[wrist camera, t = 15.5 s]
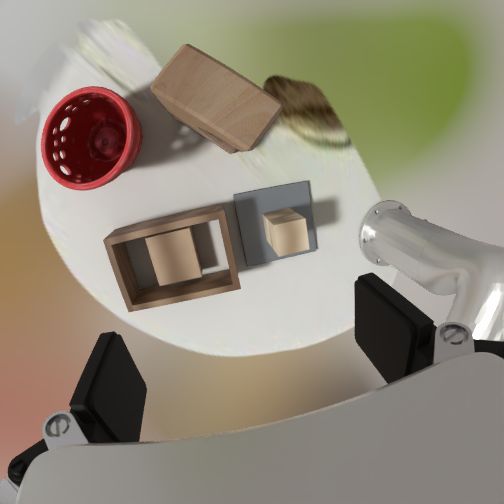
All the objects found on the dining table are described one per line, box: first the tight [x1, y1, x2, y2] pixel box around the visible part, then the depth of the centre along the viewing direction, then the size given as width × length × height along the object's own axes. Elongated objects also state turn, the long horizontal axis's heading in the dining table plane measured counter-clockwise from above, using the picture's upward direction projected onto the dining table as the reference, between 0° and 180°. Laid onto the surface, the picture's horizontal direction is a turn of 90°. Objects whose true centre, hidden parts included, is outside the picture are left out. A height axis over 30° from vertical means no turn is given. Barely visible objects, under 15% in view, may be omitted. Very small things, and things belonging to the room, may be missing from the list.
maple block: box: [262, 208, 309, 257], centre depth 43 cm, size 4×4×8 cm
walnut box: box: [103, 204, 241, 312], centre depth 43 cm, size 18×12×6 cm, turn 101°
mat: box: [233, 181, 316, 266], centre depth 47 cm, size 12×12×1 cm
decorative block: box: [150, 44, 283, 154], centre depth 31 cm, size 11×6×20 cm, turn 54°
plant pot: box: [41, 86, 142, 190], centre depth 33 cm, size 13×13×12 cm
